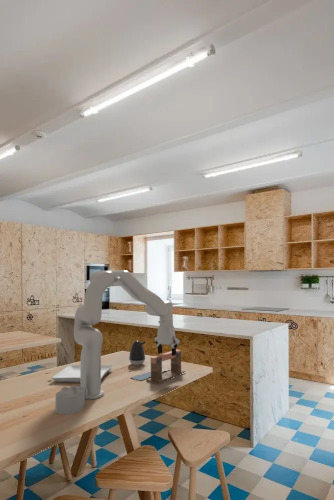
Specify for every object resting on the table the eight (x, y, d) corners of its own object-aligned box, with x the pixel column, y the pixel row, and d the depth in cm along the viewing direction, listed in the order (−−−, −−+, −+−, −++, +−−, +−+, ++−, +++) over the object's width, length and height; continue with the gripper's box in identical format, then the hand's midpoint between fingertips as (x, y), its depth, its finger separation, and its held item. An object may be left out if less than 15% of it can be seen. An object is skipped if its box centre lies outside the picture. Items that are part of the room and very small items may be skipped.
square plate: (113, 371, 204) (113, 364, 204) (100, 385, 176) (100, 377, 177) (70, 370, 206) (70, 363, 207) (50, 384, 179) (50, 376, 179)
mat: (141, 381, 182) (141, 380, 182) (130, 378, 187) (130, 377, 187) (171, 369, 203) (171, 369, 203) (160, 367, 208) (160, 367, 208)
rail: (154, 363, 179) (154, 358, 179) (150, 363, 181) (150, 357, 181) (180, 355, 198) (180, 350, 198) (176, 354, 200) (176, 349, 200)
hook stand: (158, 384, 176) (158, 359, 177) (146, 381, 181) (146, 357, 182) (185, 373, 196) (184, 351, 197) (174, 371, 201) (173, 349, 202)
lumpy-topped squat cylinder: (51, 412, 141) (52, 391, 141) (70, 401, 153) (70, 381, 154) (73, 415, 137) (73, 393, 138) (90, 404, 150) (90, 384, 150)
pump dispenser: (144, 366, 211) (144, 341, 212) (128, 366, 211) (128, 342, 213) (146, 362, 221) (146, 339, 223) (130, 362, 222) (130, 339, 223)
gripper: (150, 323, 193) (150, 353, 192) (174, 325, 183) (175, 357, 181) (158, 321, 199) (159, 351, 198) (182, 323, 189) (183, 354, 187)
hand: (167, 354), depth 190 cm, fingers open, 9 cm apart
